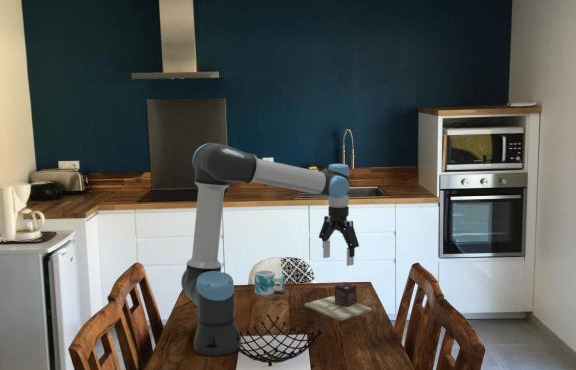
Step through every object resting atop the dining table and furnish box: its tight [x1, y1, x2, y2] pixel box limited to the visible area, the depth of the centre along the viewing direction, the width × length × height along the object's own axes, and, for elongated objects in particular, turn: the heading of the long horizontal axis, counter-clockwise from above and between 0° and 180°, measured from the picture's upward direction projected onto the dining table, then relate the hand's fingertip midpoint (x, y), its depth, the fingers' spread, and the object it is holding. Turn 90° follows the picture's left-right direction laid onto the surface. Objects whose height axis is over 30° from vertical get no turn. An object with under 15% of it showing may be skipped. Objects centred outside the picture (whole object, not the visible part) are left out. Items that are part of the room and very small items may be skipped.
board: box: [304, 294, 373, 322], centre depth 226 cm, size 16×20×1 cm
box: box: [334, 281, 357, 307], centre depth 228 cm, size 6×6×7 cm
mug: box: [254, 269, 285, 296], centre depth 246 cm, size 8×12×8 cm
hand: (338, 261), depth 226 cm, fingers open, 13 cm apart
